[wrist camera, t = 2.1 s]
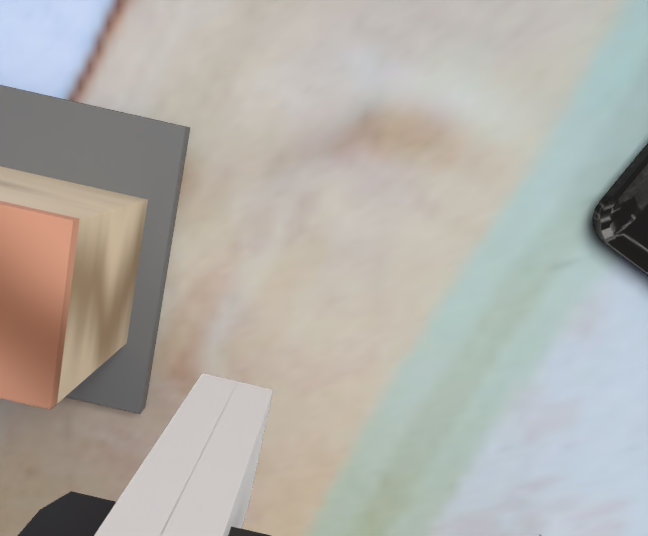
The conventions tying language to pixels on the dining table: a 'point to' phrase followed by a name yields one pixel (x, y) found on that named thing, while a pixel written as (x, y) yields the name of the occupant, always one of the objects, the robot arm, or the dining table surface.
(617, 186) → the phone
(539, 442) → the dining table surface
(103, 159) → the mat
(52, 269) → the cube
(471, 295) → the dining table surface
